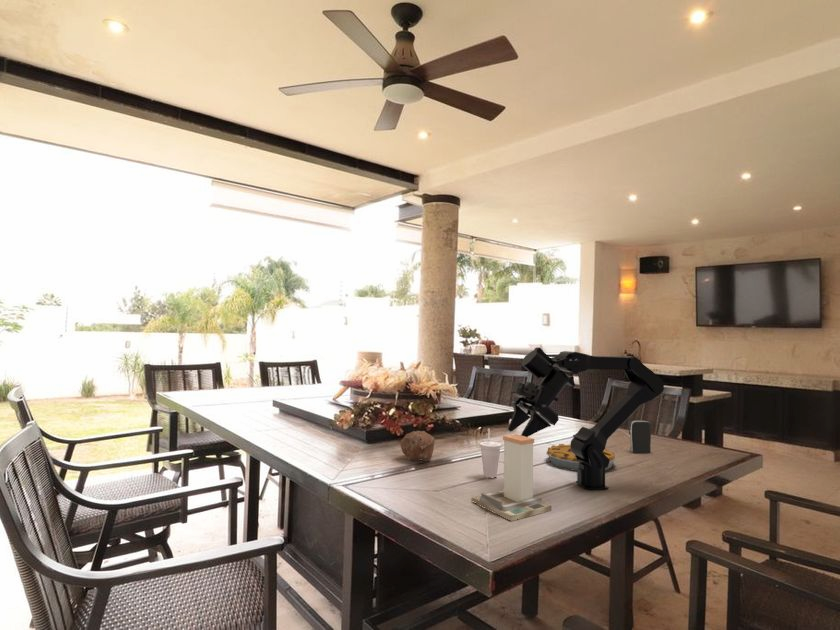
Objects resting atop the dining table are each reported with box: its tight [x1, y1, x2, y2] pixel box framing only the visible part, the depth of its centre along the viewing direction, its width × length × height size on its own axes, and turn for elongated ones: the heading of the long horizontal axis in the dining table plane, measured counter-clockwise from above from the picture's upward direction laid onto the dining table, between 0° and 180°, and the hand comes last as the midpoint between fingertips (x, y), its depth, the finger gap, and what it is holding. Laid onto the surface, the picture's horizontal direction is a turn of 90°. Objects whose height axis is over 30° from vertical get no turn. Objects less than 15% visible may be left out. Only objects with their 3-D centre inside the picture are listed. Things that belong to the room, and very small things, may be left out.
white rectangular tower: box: [502, 433, 535, 502], centre depth 116 cm, size 4×6×15 cm
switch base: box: [471, 489, 552, 522], centre depth 115 cm, size 13×14×3 cm
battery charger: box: [628, 419, 652, 454], centre depth 172 cm, size 7×4×11 cm, turn 91°
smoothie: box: [479, 428, 502, 477], centre depth 139 cm, size 6×6×14 cm
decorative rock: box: [400, 430, 436, 461], centre depth 157 cm, size 13×11×10 cm
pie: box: [546, 443, 617, 471], centre depth 155 cm, size 22×22×5 cm
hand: (515, 433), depth 128 cm, fingers open, 9 cm apart
